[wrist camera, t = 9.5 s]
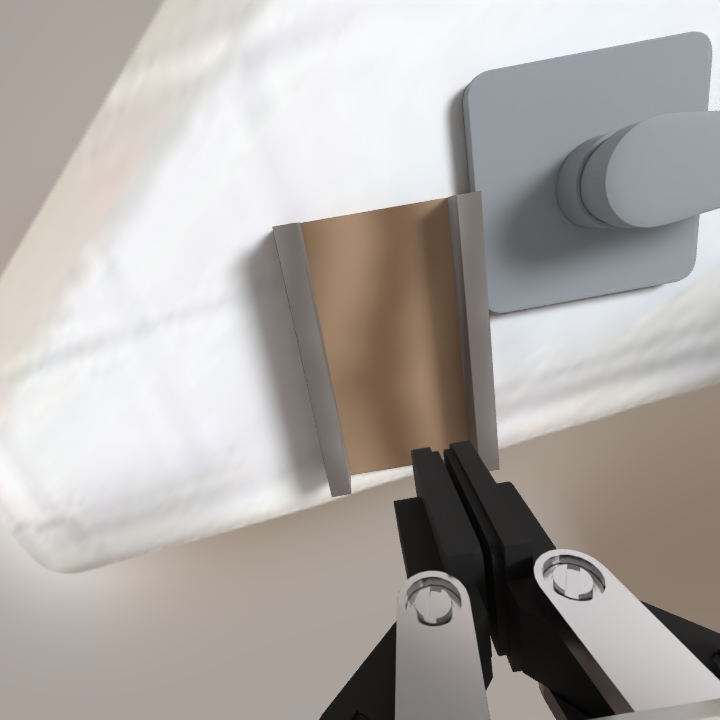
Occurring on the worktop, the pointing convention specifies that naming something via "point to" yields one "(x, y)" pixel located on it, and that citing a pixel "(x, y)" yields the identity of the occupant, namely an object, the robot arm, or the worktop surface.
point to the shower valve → (593, 169)
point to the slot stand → (393, 332)
